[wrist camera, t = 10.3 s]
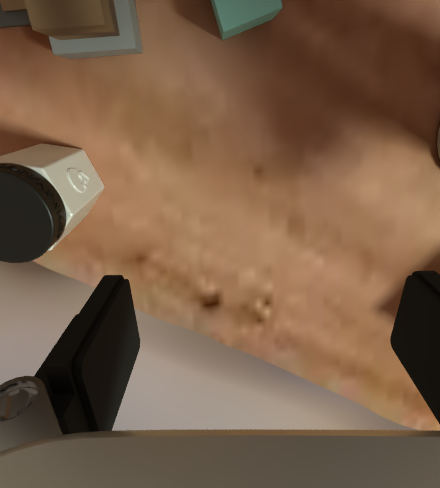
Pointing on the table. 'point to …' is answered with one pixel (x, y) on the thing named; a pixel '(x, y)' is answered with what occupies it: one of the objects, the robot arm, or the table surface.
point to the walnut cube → (73, 18)
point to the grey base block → (106, 45)
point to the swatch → (13, 13)
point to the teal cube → (243, 14)
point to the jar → (43, 198)
